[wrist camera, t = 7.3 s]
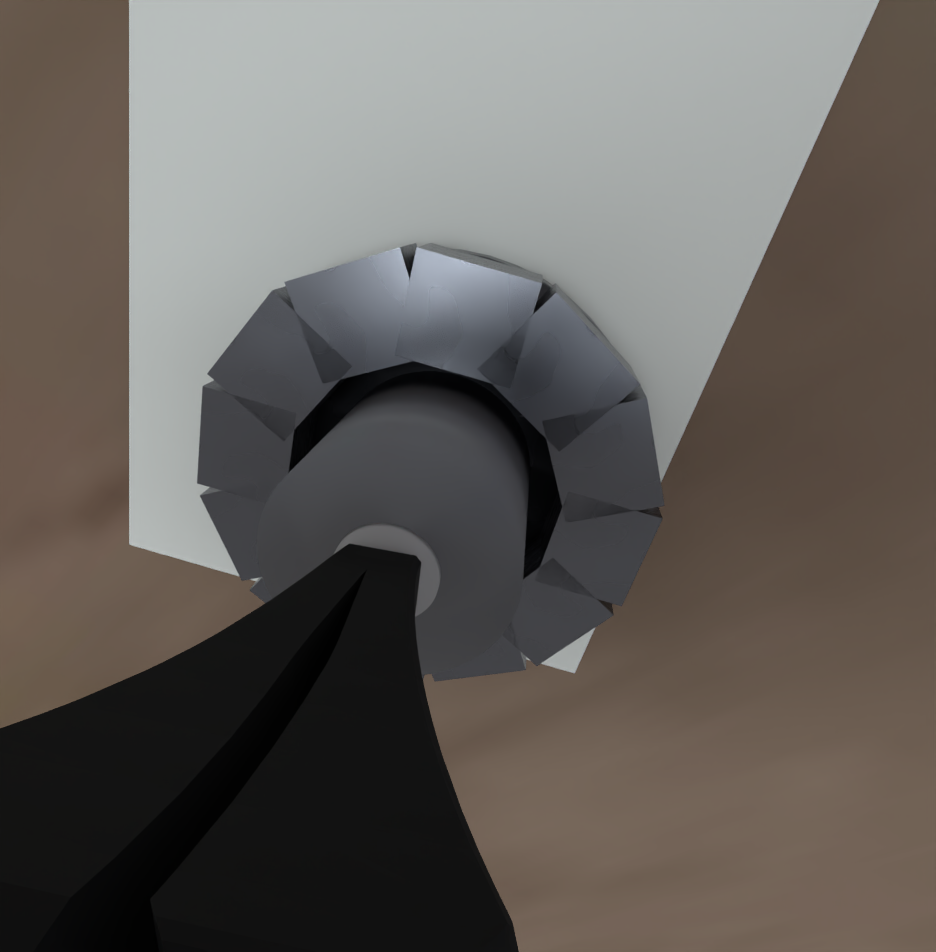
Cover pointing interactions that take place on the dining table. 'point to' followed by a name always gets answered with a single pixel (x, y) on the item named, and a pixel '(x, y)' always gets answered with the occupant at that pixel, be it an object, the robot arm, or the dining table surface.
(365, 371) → the toothed grey gear
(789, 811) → the dining table surface
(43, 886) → the robot arm
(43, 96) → the dining table surface
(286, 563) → the cap
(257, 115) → the mat
